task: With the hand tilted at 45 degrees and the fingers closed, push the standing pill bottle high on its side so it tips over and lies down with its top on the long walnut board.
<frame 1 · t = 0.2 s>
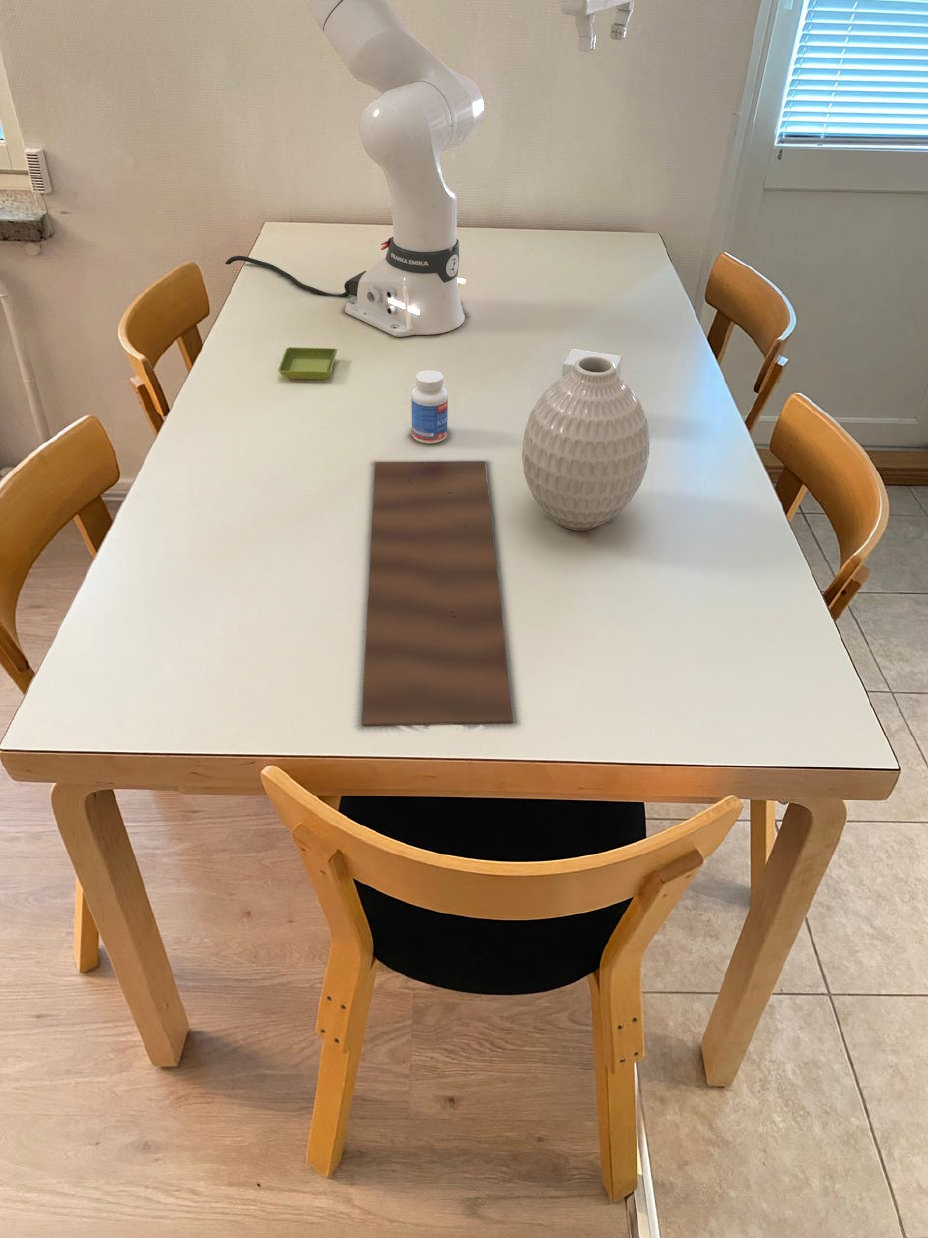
hand: (602, 44, 133), 48 cm above the table, tool pointing down, fingers open, 8 cm apart
vase: (577, 517, 131), on the table
small box: (586, 423, 150), on the table
board: (433, 573, 121), on the table
pill bottle: (429, 436, 147), on the table
green square tray: (309, 371, 162), on the table
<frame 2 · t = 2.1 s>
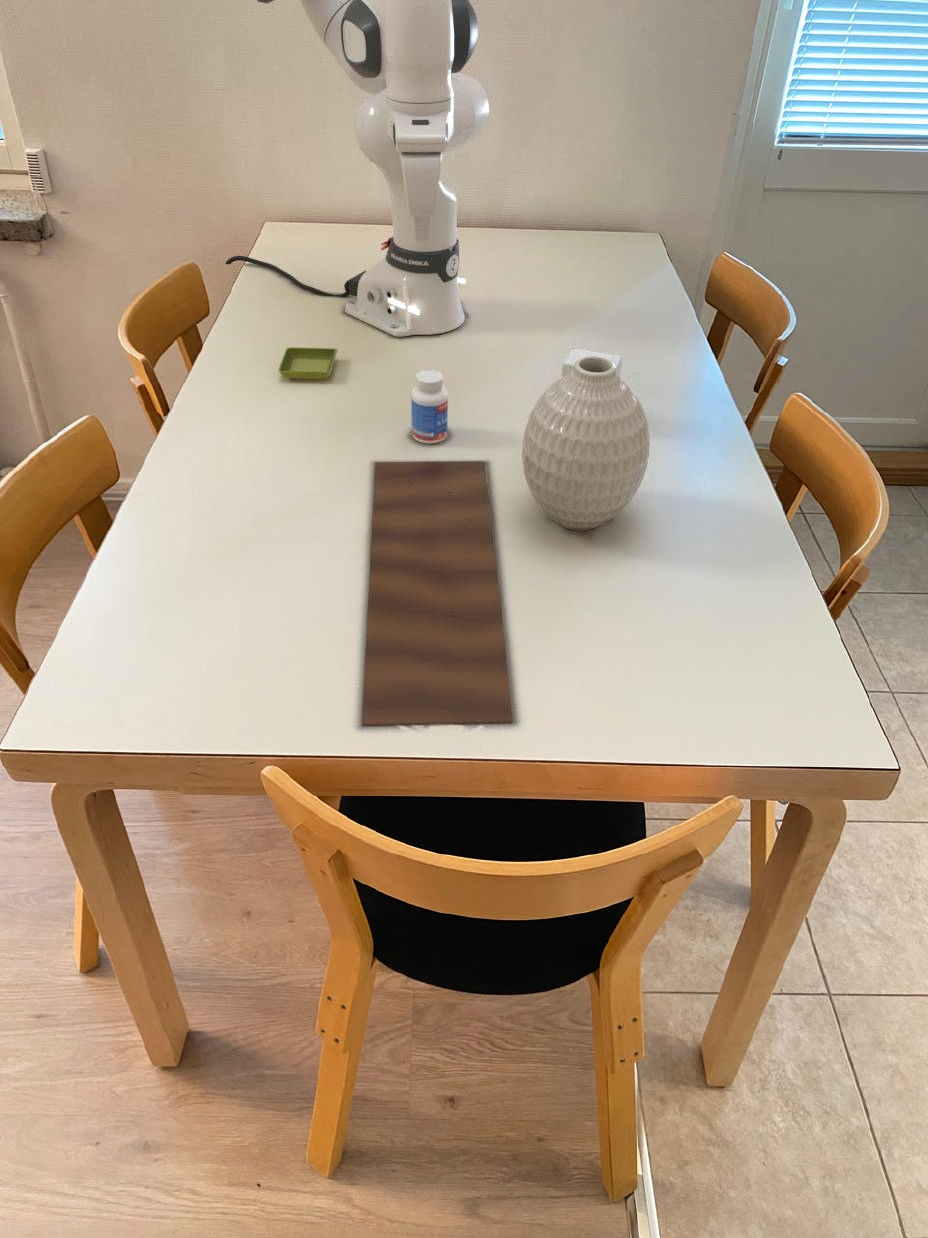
hand: (421, 227, 135), 28 cm above the table, tool pointing down, fingers open, 8 cm apart
nothing on the table moved.
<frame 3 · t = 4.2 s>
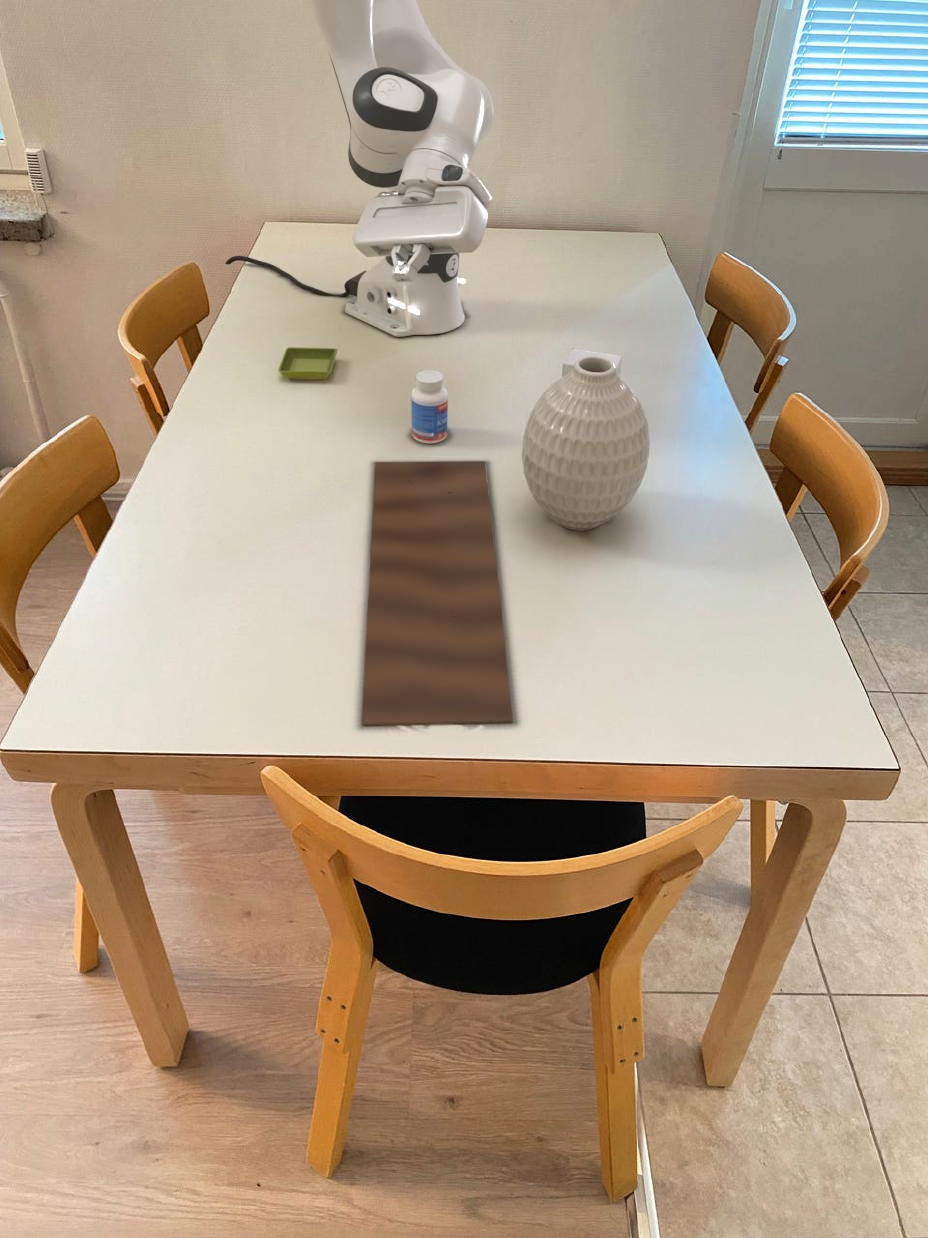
hand: (402, 279, 132), 23 cm above the table, tool tilted 50°, fingers closed
nothing on the table moved.
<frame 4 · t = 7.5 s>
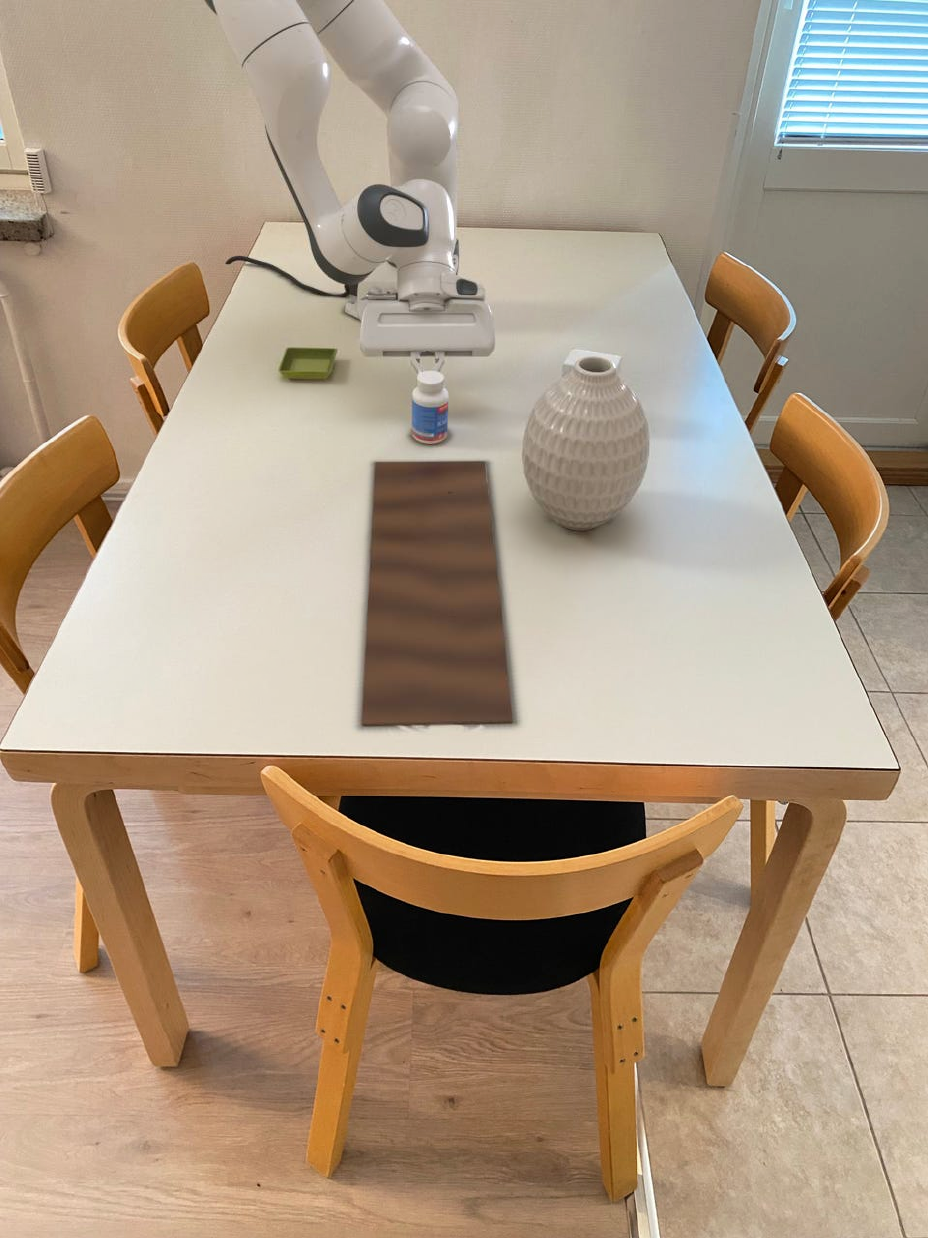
hand: (428, 384, 144), 7 cm above the table, tool tilted 45°, fingers closed, pressing on pill bottle
pill bottle: (429, 436, 147), on the table, touching gripper
everything else where it was.
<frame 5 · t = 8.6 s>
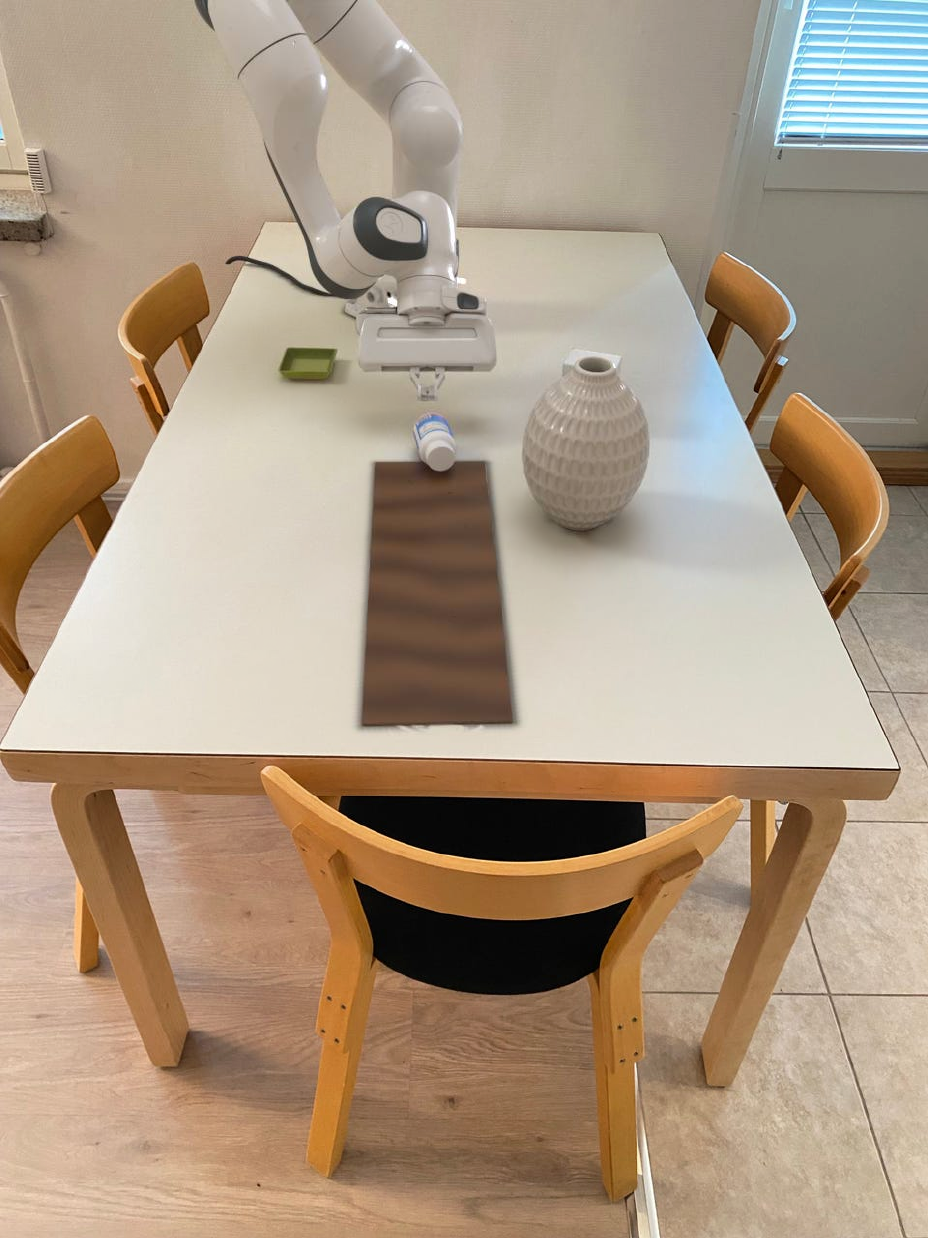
hand: (427, 399, 141), 7 cm above the table, tool tilted 45°, fingers closed
pill bottle: (430, 427, 143), point 3 cm above the table, touching board
everything else where it was.
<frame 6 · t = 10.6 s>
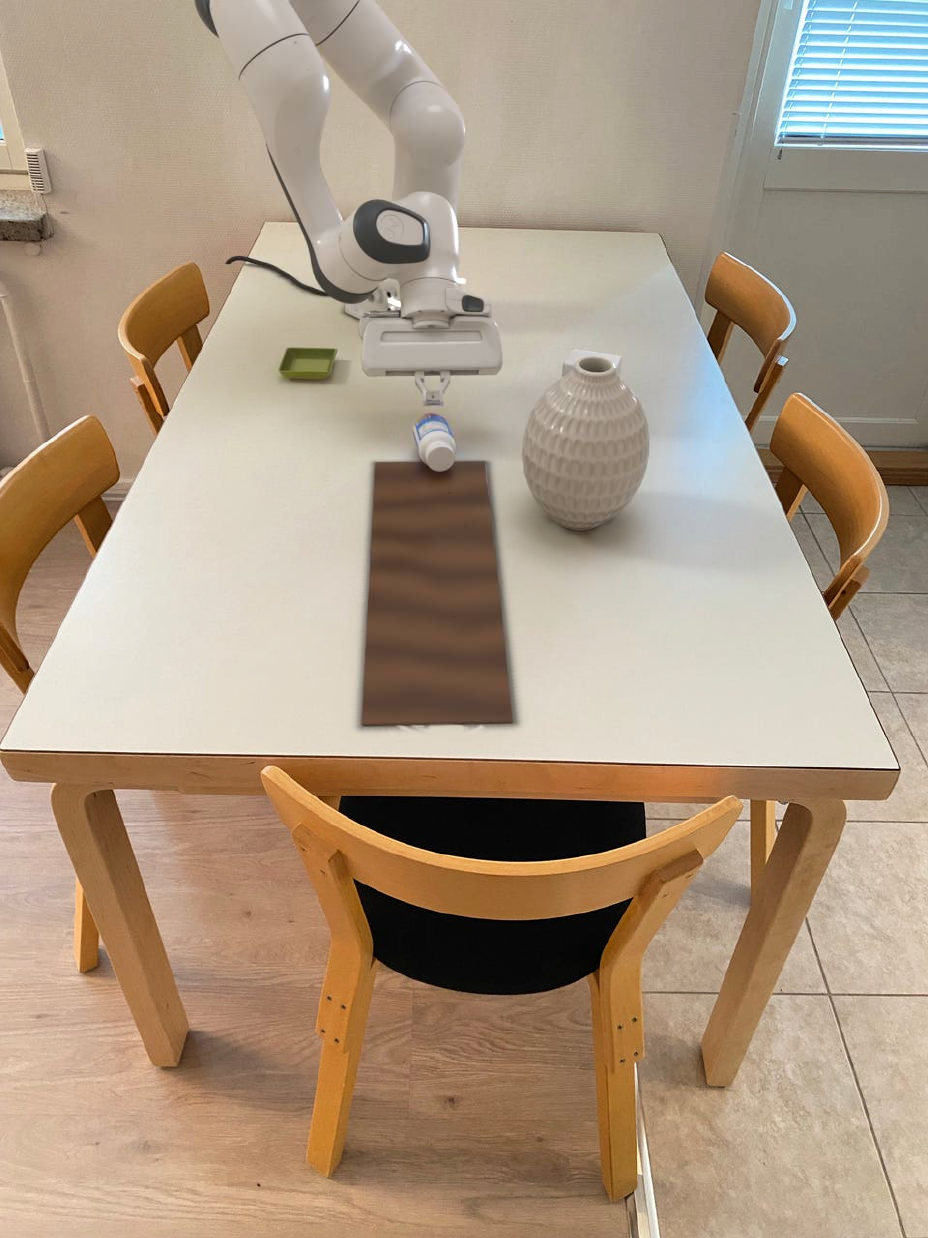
hand: (433, 404, 138), 8 cm above the table, tool tilted 45°, fingers closed
nothing on the table moved.
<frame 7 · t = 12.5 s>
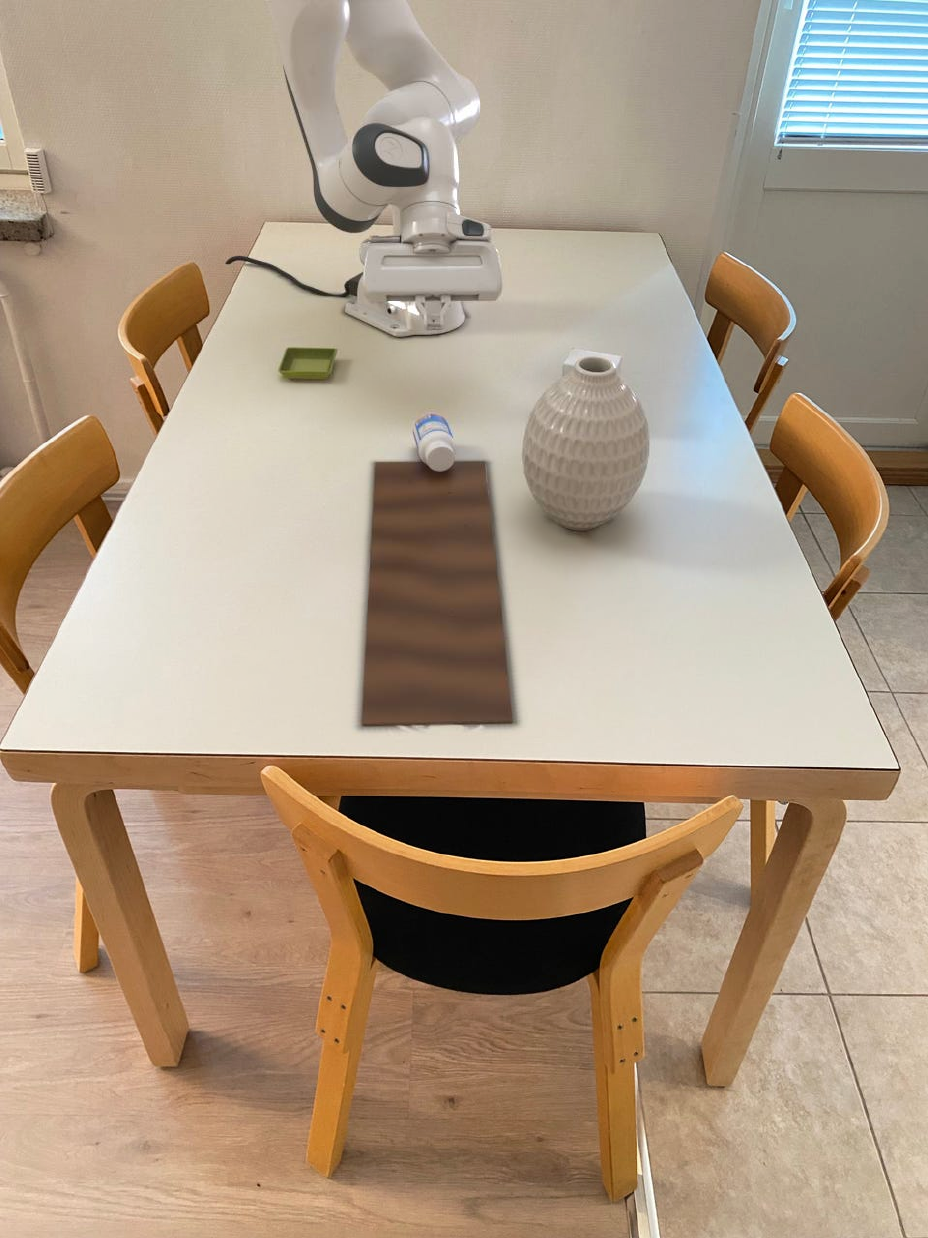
hand: (433, 329, 140), 15 cm above the table, tool tilted 45°, fingers closed
nothing on the table moved.
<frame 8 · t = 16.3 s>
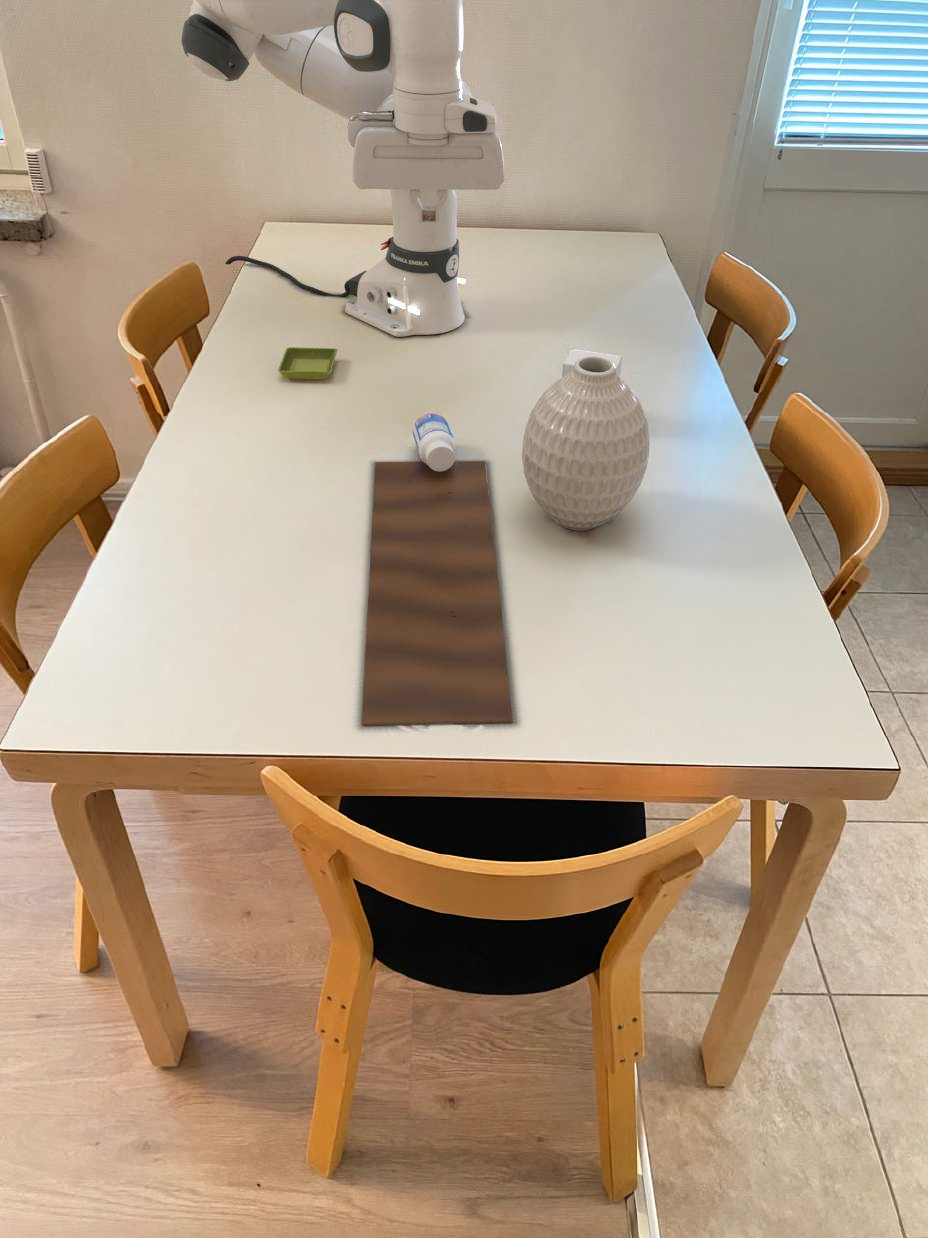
hand: (428, 221, 133), 29 cm above the table, tool pointing down, fingers closed
nothing on the table moved.
at the end: pill bottle tilted 87° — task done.
